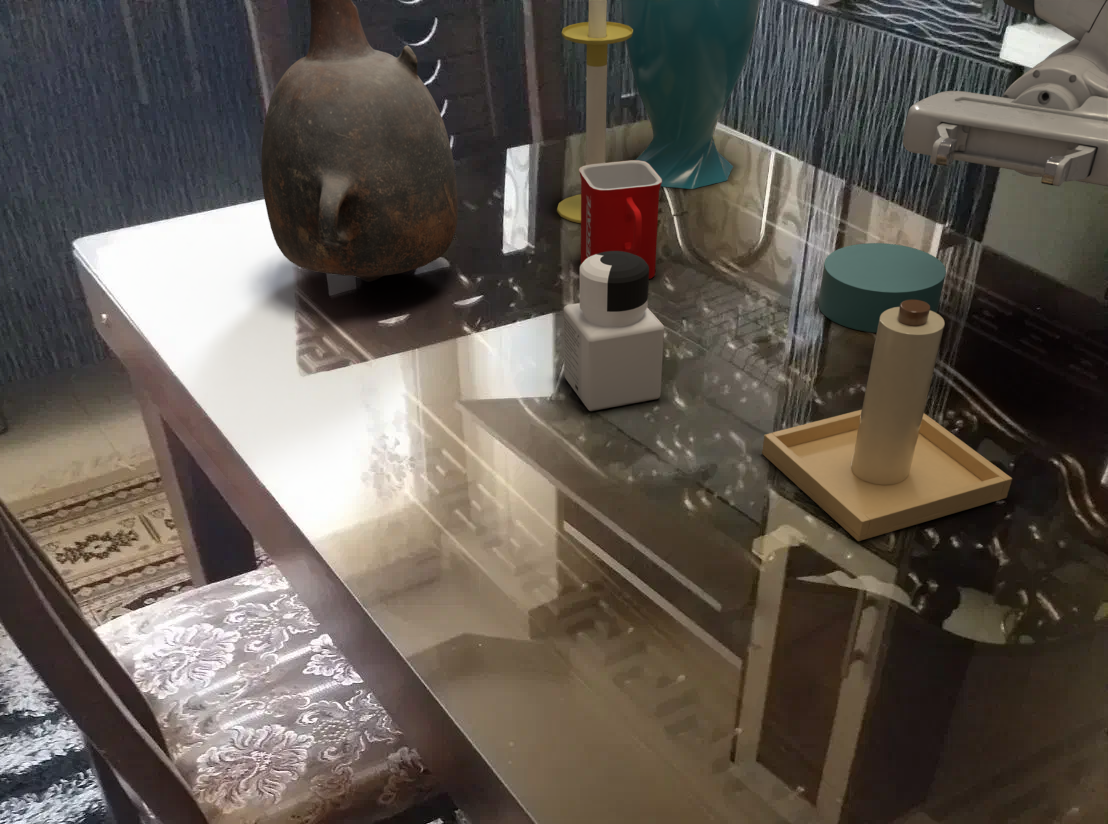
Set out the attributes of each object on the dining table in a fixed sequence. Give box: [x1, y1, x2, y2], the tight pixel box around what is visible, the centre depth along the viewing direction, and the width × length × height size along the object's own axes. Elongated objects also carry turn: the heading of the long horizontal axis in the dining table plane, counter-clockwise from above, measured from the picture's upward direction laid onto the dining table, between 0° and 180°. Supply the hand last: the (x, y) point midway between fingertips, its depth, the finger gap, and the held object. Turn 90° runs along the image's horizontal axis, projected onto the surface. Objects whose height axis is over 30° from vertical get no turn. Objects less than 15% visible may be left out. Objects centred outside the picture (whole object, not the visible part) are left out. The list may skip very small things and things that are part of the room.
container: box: [563, 251, 665, 412], centre depth 112 cm, size 8×8×13 cm
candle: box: [556, 0, 633, 224], centre depth 137 cm, size 10×10×38 cm
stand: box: [817, 242, 947, 334], centre depth 127 cm, size 13×13×4 cm
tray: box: [761, 409, 1013, 542], centre depth 103 cm, size 16×16×2 cm
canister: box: [851, 300, 946, 485], centre depth 99 cm, size 5×5×15 cm
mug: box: [578, 159, 662, 280], centre depth 132 cm, size 12×8×11 cm
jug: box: [260, 0, 459, 283], centre depth 125 cm, size 24×21×30 cm
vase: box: [621, 0, 761, 190], centre depth 149 cm, size 17×17×30 cm
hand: (994, 164), depth 95 cm, fingers open, 8 cm apart
